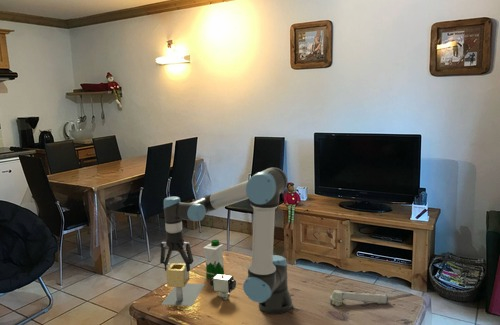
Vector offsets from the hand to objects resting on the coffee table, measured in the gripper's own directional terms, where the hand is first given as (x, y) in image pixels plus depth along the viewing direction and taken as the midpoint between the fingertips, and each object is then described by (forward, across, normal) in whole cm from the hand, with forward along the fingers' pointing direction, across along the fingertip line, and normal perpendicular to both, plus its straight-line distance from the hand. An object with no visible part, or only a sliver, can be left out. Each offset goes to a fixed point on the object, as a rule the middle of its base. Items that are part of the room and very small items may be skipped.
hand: (178, 277), depth 187 cm
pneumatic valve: (+13, -20, -6) cm, 25 cm away
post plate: (+13, 0, -6) cm, 14 cm away
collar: (+3, 0, 0) cm, 3 cm away
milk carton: (+13, -10, -27) cm, 32 cm away
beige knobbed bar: (+13, -82, -6) cm, 83 cm away
